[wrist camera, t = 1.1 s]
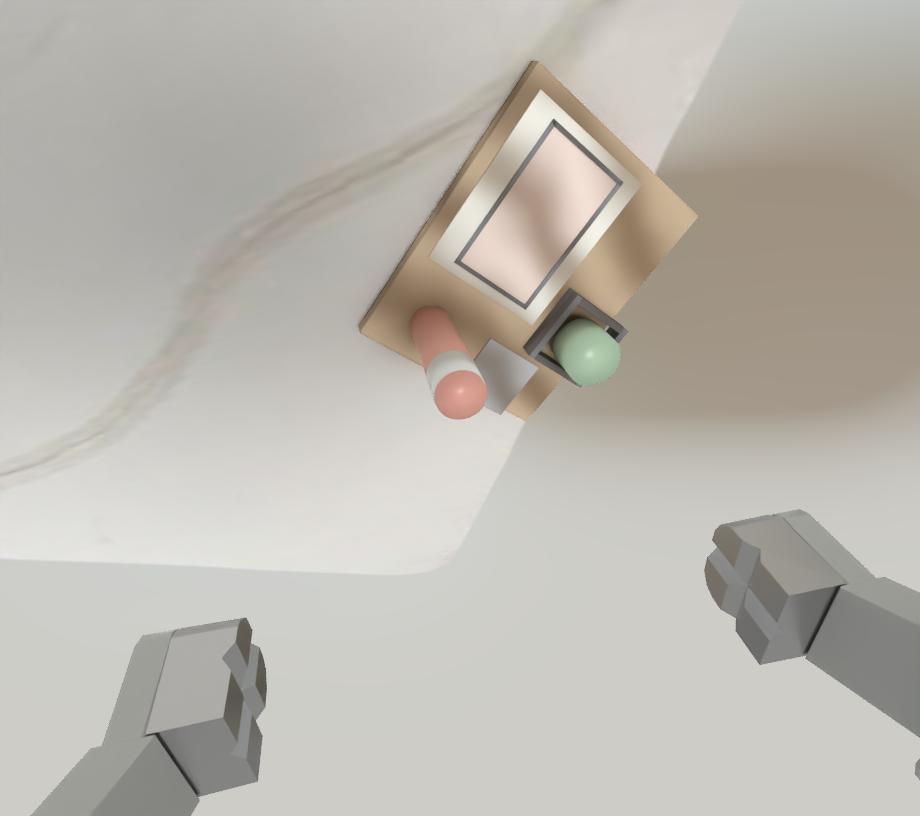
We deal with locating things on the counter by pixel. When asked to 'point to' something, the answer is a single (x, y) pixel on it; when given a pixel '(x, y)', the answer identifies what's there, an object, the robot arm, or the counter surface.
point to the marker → (447, 364)
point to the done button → (586, 351)
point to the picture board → (532, 243)
